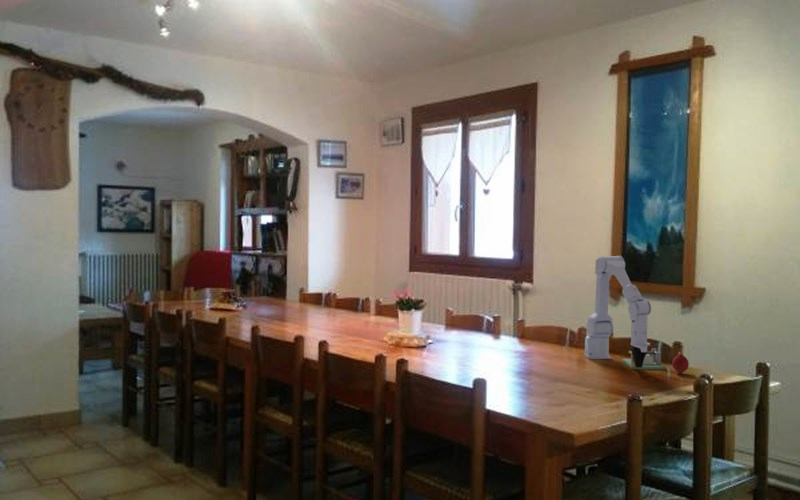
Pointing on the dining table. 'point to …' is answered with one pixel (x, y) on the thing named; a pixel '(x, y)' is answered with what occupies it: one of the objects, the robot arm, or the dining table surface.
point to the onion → (680, 363)
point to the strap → (649, 352)
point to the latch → (632, 360)
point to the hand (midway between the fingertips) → (638, 367)
